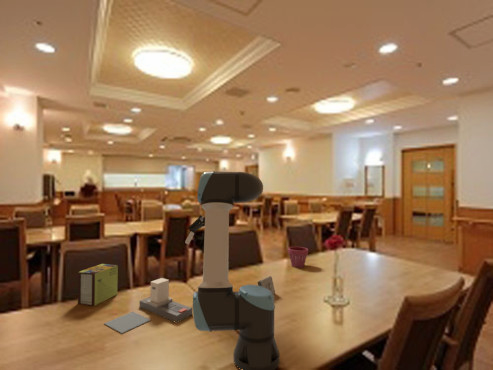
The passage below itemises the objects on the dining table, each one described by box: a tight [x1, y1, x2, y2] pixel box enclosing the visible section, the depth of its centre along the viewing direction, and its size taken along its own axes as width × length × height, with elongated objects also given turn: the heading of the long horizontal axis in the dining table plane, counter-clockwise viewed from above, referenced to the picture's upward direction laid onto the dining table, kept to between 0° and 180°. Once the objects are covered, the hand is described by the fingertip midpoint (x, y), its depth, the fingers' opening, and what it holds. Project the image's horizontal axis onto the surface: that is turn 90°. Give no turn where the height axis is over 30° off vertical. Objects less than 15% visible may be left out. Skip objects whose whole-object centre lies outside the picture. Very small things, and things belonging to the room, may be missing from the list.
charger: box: [150, 277, 170, 304], centre depth 127 cm, size 5×7×10 cm
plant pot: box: [287, 246, 309, 269], centre depth 199 cm, size 14×14×13 cm
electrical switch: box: [257, 275, 276, 295], centre depth 145 cm, size 9×5×9 cm, turn 141°
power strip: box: [139, 296, 193, 323], centre depth 125 cm, size 26×9×4 cm, turn 55°
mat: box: [104, 311, 151, 335], centre depth 114 cm, size 13×13×1 cm
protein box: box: [77, 263, 119, 307], centre depth 138 cm, size 10×15×16 cm
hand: (196, 247), depth 139 cm, fingers open, 13 cm apart
